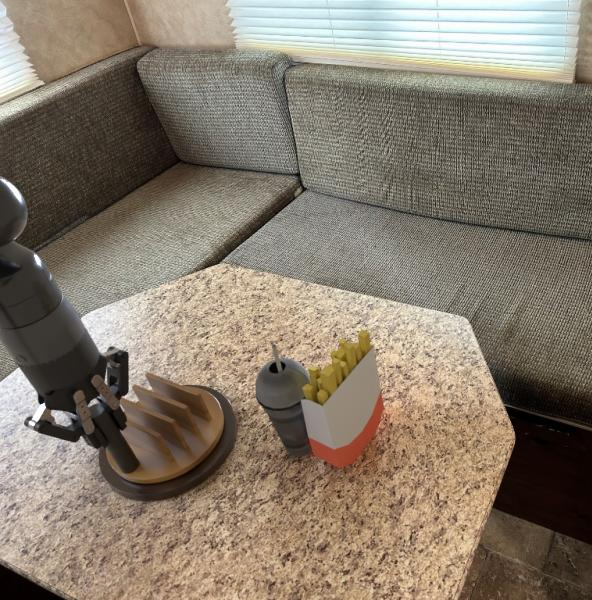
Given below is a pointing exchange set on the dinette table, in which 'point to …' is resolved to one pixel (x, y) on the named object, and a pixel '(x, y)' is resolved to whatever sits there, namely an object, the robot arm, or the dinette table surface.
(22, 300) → the robot arm
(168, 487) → the base
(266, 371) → the beverage cup
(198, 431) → the plate rack
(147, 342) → the dinette table surface
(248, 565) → the dinette table surface
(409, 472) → the dinette table surface
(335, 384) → the french fries container
